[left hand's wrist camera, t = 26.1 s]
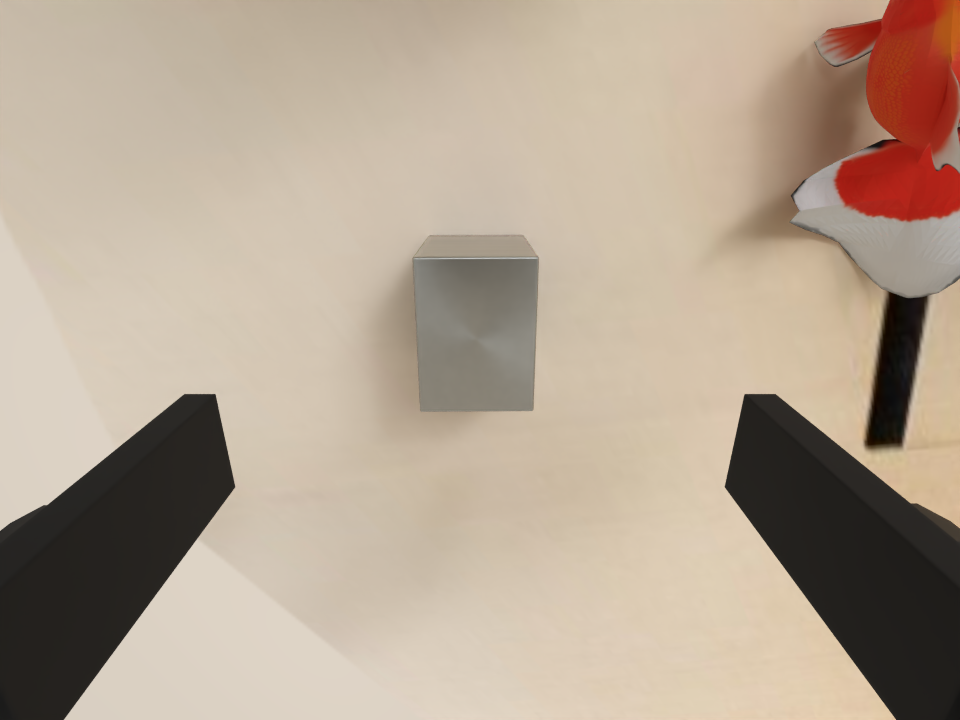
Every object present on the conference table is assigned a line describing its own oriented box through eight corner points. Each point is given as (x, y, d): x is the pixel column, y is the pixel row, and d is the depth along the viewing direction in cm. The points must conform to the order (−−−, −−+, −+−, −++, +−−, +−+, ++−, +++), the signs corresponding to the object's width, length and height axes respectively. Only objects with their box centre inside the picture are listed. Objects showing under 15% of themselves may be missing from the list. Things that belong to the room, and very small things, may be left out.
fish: (1181, -105, 19) (1406, -67, 13) (938, 247, 31) (993, 362, 24) (859, -96, 22) (910, -60, 16) (744, 223, 33) (746, 322, 27)
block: (520, 356, 31) (533, 411, 24) (433, 356, 31) (420, 412, 24) (524, 235, 28) (539, 256, 21) (428, 235, 28) (412, 257, 21)
